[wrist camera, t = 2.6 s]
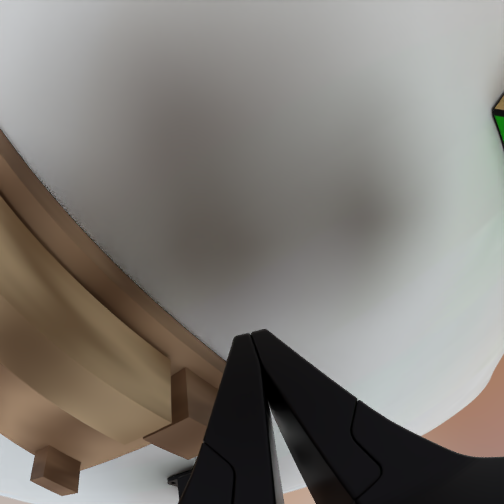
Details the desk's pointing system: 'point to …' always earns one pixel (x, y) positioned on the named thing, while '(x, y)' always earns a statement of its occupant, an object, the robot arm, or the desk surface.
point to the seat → (125, 309)
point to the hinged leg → (75, 343)
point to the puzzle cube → (500, 117)
